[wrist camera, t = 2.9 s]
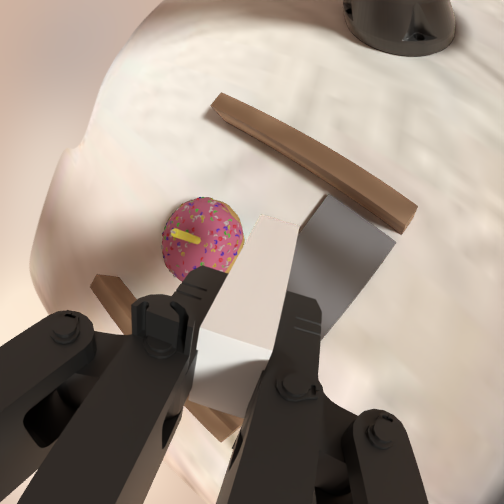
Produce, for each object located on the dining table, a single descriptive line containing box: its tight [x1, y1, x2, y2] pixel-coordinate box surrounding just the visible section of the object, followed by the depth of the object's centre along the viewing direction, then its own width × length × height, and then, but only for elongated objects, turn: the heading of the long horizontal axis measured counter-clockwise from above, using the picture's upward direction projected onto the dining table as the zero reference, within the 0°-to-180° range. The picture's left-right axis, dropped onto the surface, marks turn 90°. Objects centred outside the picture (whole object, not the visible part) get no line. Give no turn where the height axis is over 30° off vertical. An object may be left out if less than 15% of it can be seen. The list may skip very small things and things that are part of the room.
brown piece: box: [90, 92, 418, 442], centre depth 32 cm, size 28×24×4 cm
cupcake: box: [161, 197, 244, 282], centre depth 29 cm, size 9×8×12 cm
